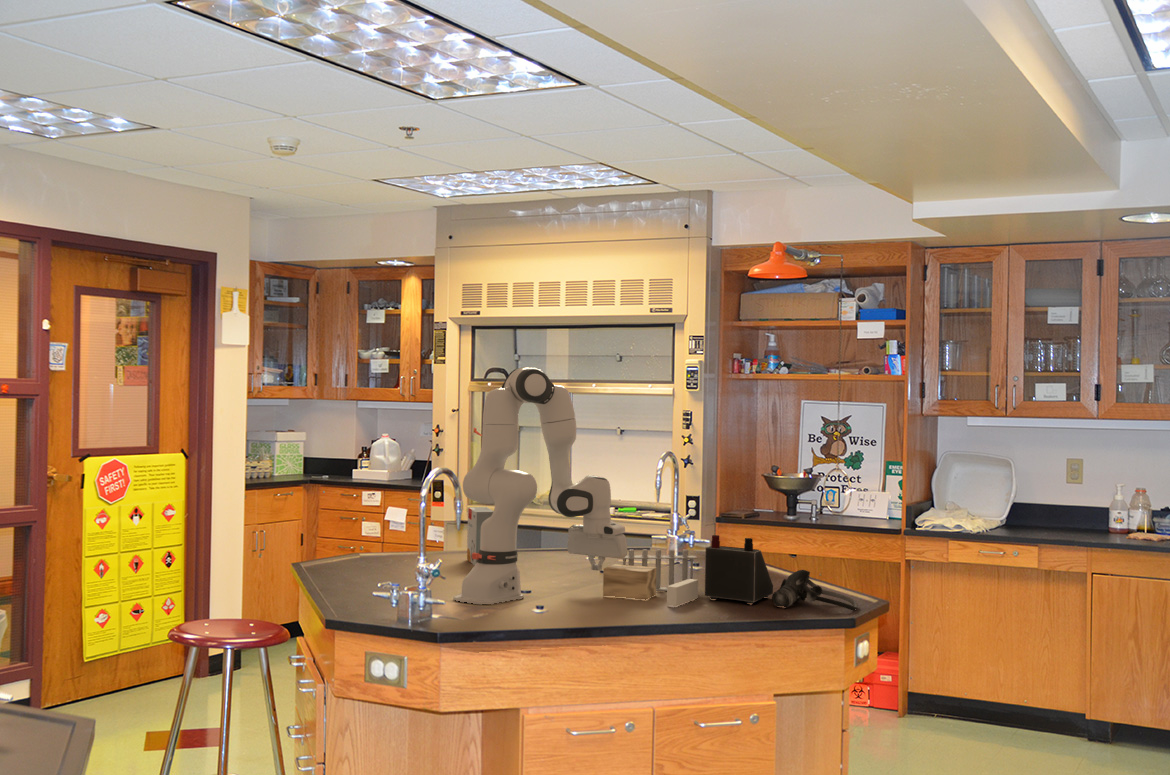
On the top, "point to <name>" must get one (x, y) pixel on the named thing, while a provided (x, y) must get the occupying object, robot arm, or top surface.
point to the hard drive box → (475, 529)
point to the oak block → (629, 581)
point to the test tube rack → (658, 564)
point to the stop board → (682, 592)
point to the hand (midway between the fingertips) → (596, 570)
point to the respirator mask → (806, 592)
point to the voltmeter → (736, 572)
